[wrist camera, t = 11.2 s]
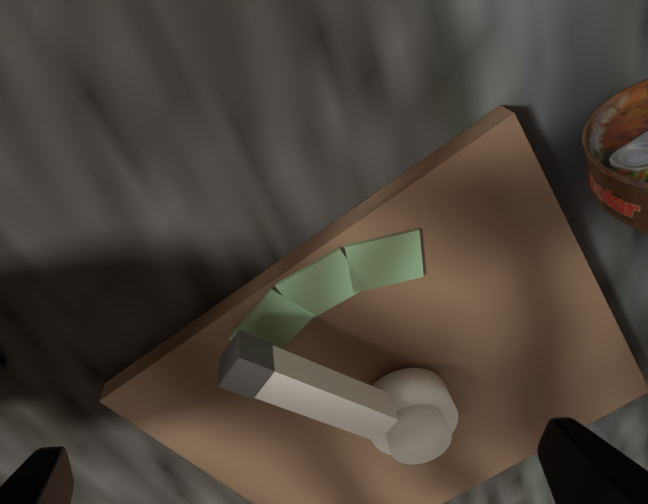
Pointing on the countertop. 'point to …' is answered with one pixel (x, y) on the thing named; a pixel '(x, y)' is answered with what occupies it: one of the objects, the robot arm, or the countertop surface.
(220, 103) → the countertop surface
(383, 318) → the brown board
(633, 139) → the tin
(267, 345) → the peg
